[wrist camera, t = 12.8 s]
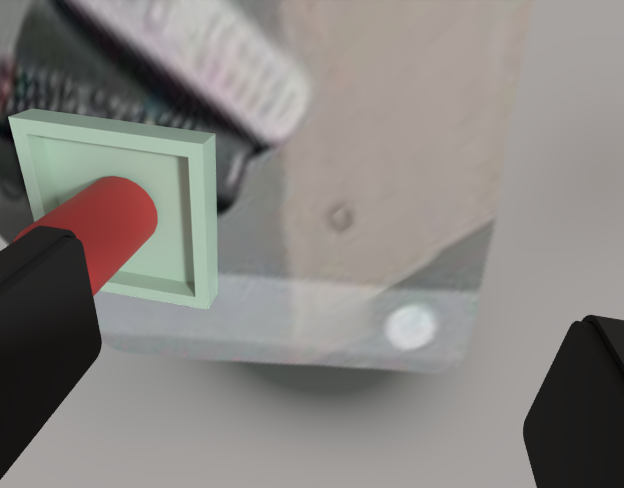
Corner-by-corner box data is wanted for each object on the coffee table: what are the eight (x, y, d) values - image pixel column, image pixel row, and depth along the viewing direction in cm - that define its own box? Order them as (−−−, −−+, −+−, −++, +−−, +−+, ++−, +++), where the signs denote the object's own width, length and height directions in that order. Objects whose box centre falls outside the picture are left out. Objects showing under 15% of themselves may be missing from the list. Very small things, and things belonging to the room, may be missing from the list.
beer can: (175, 217, 41) (100, 297, 31) (130, 251, 44) (47, 335, 34) (121, 158, 39) (22, 223, 29) (77, 198, 42) (-28, 270, 31)
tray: (32, 108, 39) (8, 117, 37) (215, 133, 37) (202, 144, 35) (66, 266, 47) (49, 281, 45) (218, 292, 46) (208, 309, 43)
